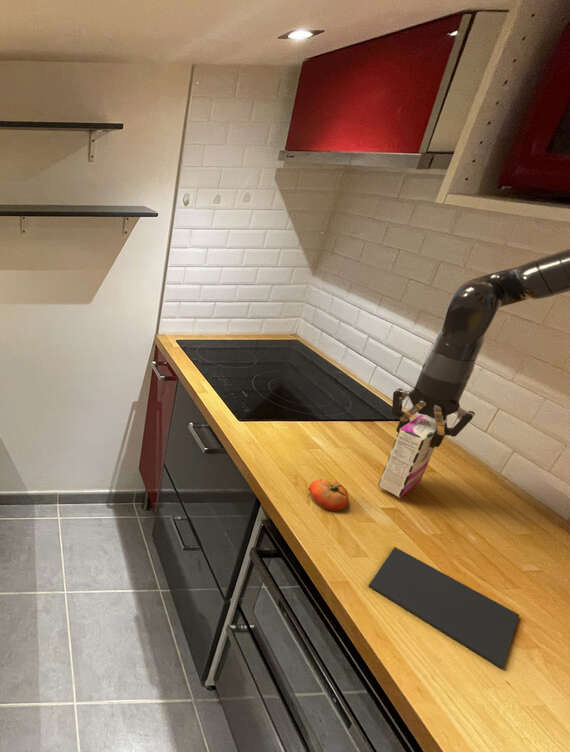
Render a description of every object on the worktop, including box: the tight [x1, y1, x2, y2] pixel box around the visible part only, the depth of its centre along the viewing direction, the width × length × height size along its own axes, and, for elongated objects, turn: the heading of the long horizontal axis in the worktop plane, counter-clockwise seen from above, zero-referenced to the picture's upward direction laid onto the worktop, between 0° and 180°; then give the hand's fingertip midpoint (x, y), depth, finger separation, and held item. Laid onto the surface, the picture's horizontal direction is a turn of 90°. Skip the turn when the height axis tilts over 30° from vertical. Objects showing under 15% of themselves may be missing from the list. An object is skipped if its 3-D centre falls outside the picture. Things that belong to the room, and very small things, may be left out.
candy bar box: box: [377, 414, 437, 499], centre depth 102 cm, size 11×5×16 cm, turn 122°
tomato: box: [307, 478, 350, 512], centre depth 101 cm, size 8×7×7 cm
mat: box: [368, 546, 520, 670], centre depth 79 cm, size 18×14×1 cm
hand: (416, 440), depth 100 cm, fingers closed on candy bar box, 5 cm apart
